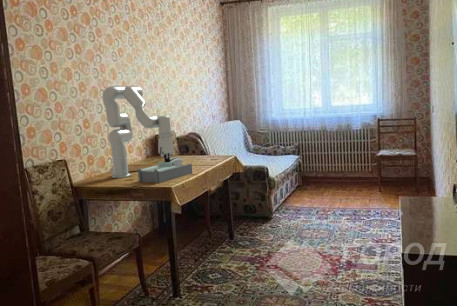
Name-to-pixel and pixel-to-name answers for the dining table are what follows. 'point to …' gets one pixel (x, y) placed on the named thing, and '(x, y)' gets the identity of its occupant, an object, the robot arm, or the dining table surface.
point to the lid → (160, 167)
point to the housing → (164, 174)
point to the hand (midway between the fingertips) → (167, 164)
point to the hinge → (176, 161)
